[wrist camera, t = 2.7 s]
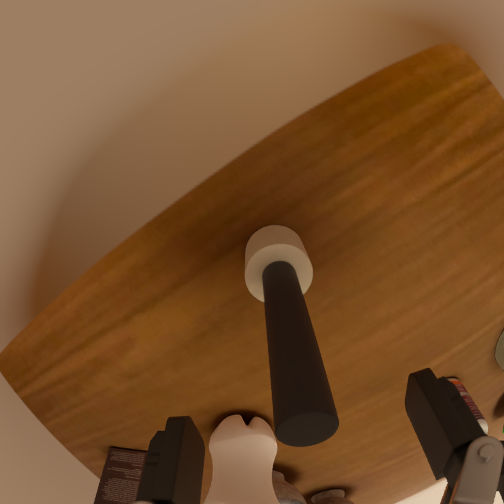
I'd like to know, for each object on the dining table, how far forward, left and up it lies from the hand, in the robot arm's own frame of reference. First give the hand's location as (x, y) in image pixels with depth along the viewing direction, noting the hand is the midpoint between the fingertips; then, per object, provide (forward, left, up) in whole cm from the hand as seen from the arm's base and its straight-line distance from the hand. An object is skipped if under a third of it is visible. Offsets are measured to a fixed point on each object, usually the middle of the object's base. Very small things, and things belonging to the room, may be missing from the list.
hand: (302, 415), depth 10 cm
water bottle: (+20, -7, -15) cm, 26 cm away
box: (+26, -24, -15) cm, 39 cm away
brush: (0, 0, -15) cm, 15 cm away
